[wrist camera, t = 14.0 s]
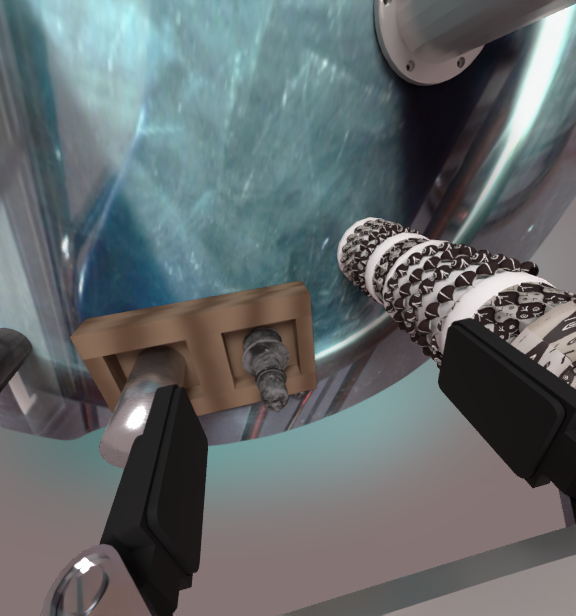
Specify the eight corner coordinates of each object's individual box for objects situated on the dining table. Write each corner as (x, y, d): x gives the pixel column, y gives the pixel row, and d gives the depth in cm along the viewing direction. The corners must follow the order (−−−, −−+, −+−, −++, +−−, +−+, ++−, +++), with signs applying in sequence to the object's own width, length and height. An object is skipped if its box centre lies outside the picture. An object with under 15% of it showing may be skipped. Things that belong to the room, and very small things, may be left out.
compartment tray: (301, 280, 37) (309, 293, 33) (308, 370, 44) (316, 388, 40) (85, 318, 33) (69, 337, 29) (132, 409, 40) (123, 433, 37)
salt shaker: (271, 366, 40) (289, 438, 29) (232, 354, 38) (237, 427, 27) (291, 333, 38) (318, 396, 28) (252, 318, 36) (265, 381, 25)
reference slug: (178, 341, 35) (160, 416, 25) (191, 378, 38) (180, 459, 27) (127, 351, 34) (87, 433, 24) (144, 387, 37) (114, 476, 27)
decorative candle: (318, 258, 36) (472, 407, 14) (370, 197, 34) (646, 260, 12) (364, 296, 40) (540, 458, 18) (413, 243, 37) (679, 355, 16)
